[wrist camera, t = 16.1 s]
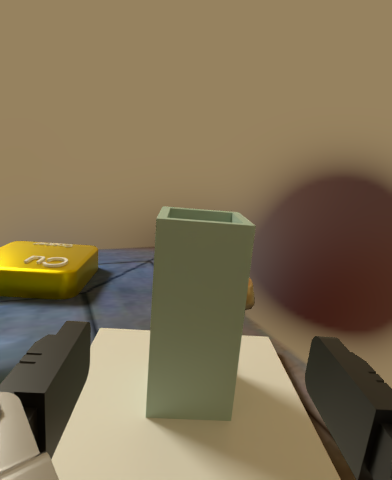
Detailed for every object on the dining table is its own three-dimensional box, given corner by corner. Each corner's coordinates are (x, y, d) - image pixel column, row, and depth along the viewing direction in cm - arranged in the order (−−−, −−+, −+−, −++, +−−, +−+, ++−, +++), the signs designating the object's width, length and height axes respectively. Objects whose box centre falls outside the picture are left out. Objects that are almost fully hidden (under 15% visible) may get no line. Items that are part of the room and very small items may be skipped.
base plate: (354, 538, 17) (391, 391, 15) (7, 533, 16) (-3, 373, 14) (266, 349, 34) (278, 270, 32) (99, 340, 33) (101, 258, 31)
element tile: (100, 268, 57) (100, 243, 56) (73, 303, 42) (73, 269, 41) (15, 263, 56) (14, 237, 55) (-43, 297, 41) (-46, 262, 40)
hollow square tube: (231, 421, 22) (255, 225, 19) (145, 417, 22) (156, 218, 19) (219, 357, 29) (235, 209, 26) (155, 354, 29) (164, 204, 26)
